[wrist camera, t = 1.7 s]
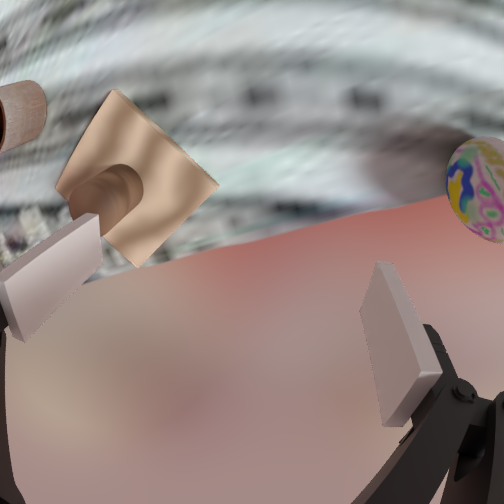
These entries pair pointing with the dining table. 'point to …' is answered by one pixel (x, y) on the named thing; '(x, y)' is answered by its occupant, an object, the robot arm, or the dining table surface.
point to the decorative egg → (478, 186)
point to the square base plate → (132, 179)
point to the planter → (21, 113)
